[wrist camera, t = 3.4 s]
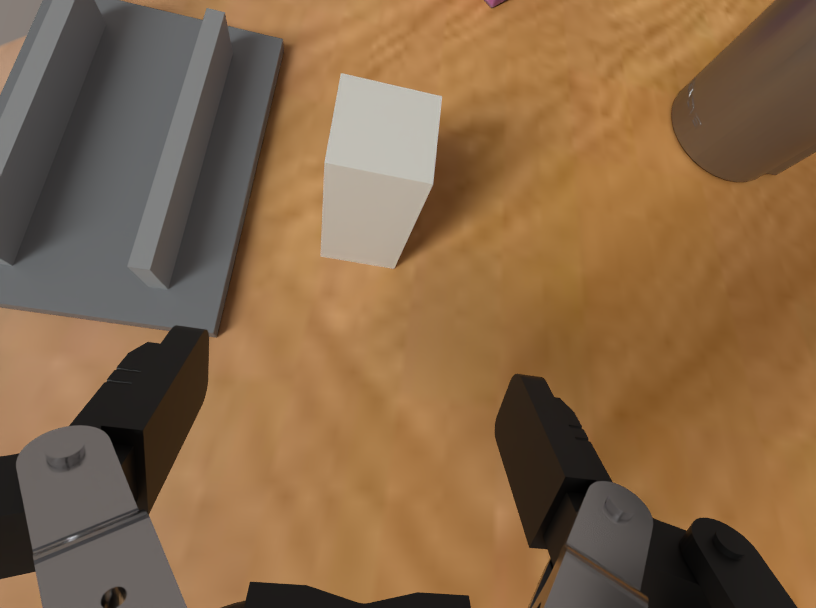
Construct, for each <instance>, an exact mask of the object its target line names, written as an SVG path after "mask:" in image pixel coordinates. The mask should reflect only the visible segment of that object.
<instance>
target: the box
mask: <svg viewBox="0 0 816 608" xmlns="http://www.w3.org/2000/svg"><path fill="white" fill-rule="evenodd" d="M484 1H485V2H486V3H487V4H488V5H489V6H490V7H491V8H493V7H494V6H496V5H498V4H500V3H502V2H504V1H506V0H484Z"/></svg>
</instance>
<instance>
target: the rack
mask: <svg viewBox="0 0 816 608" xmlns="http://www.w3.org/2000/svg"><path fill="white" fill-rule="evenodd" d="M283 52H284V47H283V39H281V38H276V37H272V36H268V35H264V34H259V33H255V32H251V31H247V30H242V29H238V28H234V27H230V26H227V21H226V16H225V12H221V11H217V10H213V9H208V8H207V9H206V12H205V15H204V19H203V20H200V19H196V18H192V17H187V16H183V15H179V14H175V13H171V12H166V11H162V10H158V9H154V8H149V7H145V6H141V5H137V4H132V3H128V2H124V1H120V0H43V1H42V4H41V6H40V8H39V10H38V12H37V15H36V17H35V20H34V21H33V23H32V26H31V28H30V30H29V33H28V35H27V37H26V39H25V41H24V43H23V46H22V48H21V50H20V52H19V55H18V57H17V59H16V61H15V63H14V66H13V68H12V70H11V72H10V75H9V77H8V79H7V81H6V84H5V86H4V88H3V90H2V92H1V95H0V307H1V308H8V309H16V310H23V311H30V312H37V313H44V314H52V315H59V316H66V317H73V318H80V319H87V320H95V321H102V322H109V323H116V324H123V325H130V326H138V327H145V328H152V329H159V330H166V331H170V330H171V329H172V328H173V326H175V325H178V326H185V327H192V328H199V329H206V330H208V333H209V337H217V334H218V330H219V326H220V322H221V317H222V313H223V309H224V304H225V300H226V296H227V292H228V287H229V283H230V279H231V275H232V270H233V266H234V262H235V257H236V253H237V249H238V245H239V240H240V236H241V232H242V228H243V223H244V219H245V215H246V210H247V206H248V202H249V198H250V193H251V189H252V185H253V180H254V176H255V172H256V168H257V163H258V159H259V155H260V151H261V146H262V142H263V138H264V133H265V129H266V125H267V121H268V116H269V112H270V108H271V103H272V99H273V95H274V91H275V86H276V82H277V78H278V74H279V69H280V65H281V61H282V56H283Z"/></svg>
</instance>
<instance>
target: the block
mask: <svg viewBox="0 0 816 608" xmlns="http://www.w3.org/2000/svg"><path fill="white" fill-rule="evenodd" d="M441 101H442V96H438V95H434V94H429V93H425V92H421V91H416V90H412V89H408V88H403V87H399V86H395V85H390V84H386V83H381V82H377V81H373V80H368V79H364V78H360V77H355V76H351V75H347V74H342V73H341V76H340V82H339V87H338V93H337V98H336V104H335V109H334V114H333V120H332V125H331V131H330V136H329V142H328V147H327V152H326V158H325V165H324V189H323V212H322V236H321V257H327V258H333V259H339V260H345V261H351V262H357V263H363V264H369V265H374V266H380V267H386V268H392V269H394V268H395V266H396V264H397V261H398V259H399V257H400V255H401V253H402V251H403V248H404V246H405V244H406V242H407V240H408V238H409V235H410V233H411V231H412V229H413V227H414V225H415V222H416V220H417V218H418V216H419V214H420V212H421V210H422V207H423V205H424V203H425V201H426V199H427V197H428V194H429V192H430V190H431V188H432V186H433V181H434V171H435V161H436V151H437V141H438V131H439V121H440V111H441Z"/></svg>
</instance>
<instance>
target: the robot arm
mask: <svg viewBox="0 0 816 608" xmlns="http://www.w3.org/2000/svg"><path fill="white" fill-rule="evenodd" d="M672 123H673V128H674V131H675V133H676V136H677V138H678V140H679V142H680V144H681V145H682V147H683V149H684V150H685V151H686V152H687V154H688V155H689V156H690V157H691V158H692V160H694V161H695V162H696V163H697V164H698V165H699V166H701V167H702V168H703V169H705V170H706V171H708V172H709V173H711V174H713V175H715V176H717V177H720V178H722V179H725V180H729V181H734V182H747V181H751V180H755V179H756V178H758V177H760V176H762V175H764V174H773V175H777V174H779V173H781V172H782V171H784V170H786V169H787V168H789V167H791V166H793V165H794V164H796V163H798V162H799V161H801V160H803V159H805V158H806V157H808V156H810V155H811V154H813V153H815V152H816V0H775V1H774V2H773V3H772V4H771V5H770V6H769V7H768V8H767V9H766V10H765V11H764V12H762V13H761V14H760V15H759V16H758V17H757V18H756V19H755V20H754V21H753V22H752V23H751V24H750V25H749V26H748V27H747V28H746V29H745V30H744V31H743V32H742V33H741V34H740V35H739V36H737V37H736V38H735V39H734V40H733V41H732V42H731V43H730V44H729V45H728V46H727V47H726V48H725V49H724V50H723V51H722V52H721V53H720V54H719V55H718V56H717V57H716V58H714V59H713V60H712V61H711V62H710V63H709V64H708V65H707V66H706V67H705V68H704V69H703V70H702V71H701V72H700V73H699V74H698V75H697V76H696V77H695V78H694V79H693V80H692V81H691V82H690V83H688V84H687V85H686V86H685V87H684V88H683V89H682V90H681V91H680V92H679V94H678V95H677V97H676V98H675V100H674V103H673V107H672ZM208 363H209V333H208V330H206V329H199V328H192V327H185V326H178V325H175V326H173V328H172V329H171V330H170V332H169V333H168V334H167V336H166V337H165V338H164V340H163V341H162V342H161V344H159V343H151V342H147V343H145V344H143V345H142V346H140V347H138V348H136V349H135V350H133V351H131V352H129V353H128V354H127V355H126V357H125V358H124V359H123V360H122V362H121V363H120V364H119V365H118V367H117V369H116V370H114V371H113V373H112V374H111V375H110V376H109V378H108V379H107V382H105V383H104V384H103V385H102V386H101V387H100V389H99V390H98V391H97V392H96V394H95V395H94V396H93V397H92V398H91V400H90V401H89V402H88V403H87V405H86V406H85V407H84V408H83V410H82V411H81V412H80V413H79V414H78V416H77V417H76V418H75V419H74V421H73V422H72V423H71V424H70V425H69V426H67V427H62V428H58V429H55V430H52V431H49V432H47V433H45V434H42V435H41V436H39V437H37V438H35V439H34V440H33V441H31V442H30V443H29V444H27V445H26V446H25V447H24V448H23V450H22V451H21V452H20V453H19V454H14V455H8V456H1V457H0V579H3V578H8V577H12V576H17V575H22V574H26V573H31V572H36V576H37V581H38V586H39V591H40V596H41V601H42V606H43V608H187V606H186V604H185V602H184V599H183V597H182V594H181V592H180V589H179V587H178V585H177V582H176V580H175V577H174V575H173V572H172V570H171V568H170V565H169V563H168V560H167V558H166V555H165V553H164V551H163V548H162V546H161V543H160V541H159V539H158V536H157V534H156V531H155V529H154V526H153V524H152V522H151V519H150V517H149V513H150V511H151V509H152V507H153V505H154V503H155V501H156V499H157V496H158V494H159V492H160V490H161V488H162V486H163V484H164V482H165V480H166V478H167V476H168V474H169V472H170V470H171V468H172V466H173V464H174V462H175V460H176V457H177V455H178V453H179V451H180V449H181V447H182V445H183V443H184V441H185V439H186V437H187V435H188V433H189V431H190V429H191V427H192V425H193V423H194V421H195V418H196V416H197V414H198V412H199V410H200V408H201V406H202V404H203V401H204V399H205V395H206V391H207V385H208ZM495 438H496V442H497V445H498V448H499V452H500V455H501V458H502V461H503V465H504V468H505V471H506V474H507V477H508V481H509V484H510V487H511V490H512V494H513V497H514V500H515V503H516V506H517V510H518V513H519V516H520V519H521V522H522V526H523V529H524V532H525V535H526V539H527V542H528V545H529V548H539V549H548V552H549V555H550V559H549V561H548V563H547V565H546V567H545V569H544V571H543V574H542V576H541V578H540V581H539V583H538V585H537V588H536V590H535V592H534V595H533V597H532V599H531V602H530V604H529V606H528V608H797V606H796V605H795V603H794V602H793V601H792V599H791V598H790V596H789V595H788V594H787V592H786V591H785V589H784V588H783V587H782V585H781V584H780V582H779V581H778V580H777V578H776V577H775V575H774V574H773V572H772V571H771V570H770V568H769V567H768V565H767V564H766V563H765V561H764V560H763V558H762V557H761V556H760V554H759V553H758V551H757V550H756V549H755V548H754V546H753V545H752V544H751V543H750V542H749V541H748V540H747V539H746V538H745V537H744V536H743V535H741V534H740V533H739V532H737V531H736V530H734V529H733V528H731V527H730V526H728V525H726V524H724V523H722V522H720V521H717V520H714V519H710V518H699V519H696V520H695V521H694V522H693V523H692V524H691V526H690V527H689V529H688V530H687V531H686V530H683V529H680V528H678V527H675V526H672V525H670V524H667V523H664V522H661V521H659V520H656V519H654V518H652V516H651V513H650V511H649V510H648V508H647V507H646V505H645V504H644V503H643V502H642V501H641V499H639V498H638V497H637V496H636V495H635V494H634V493H632V492H631V491H629V490H628V489H626V488H624V487H622V486H621V485H618V484H616V483H613V482H612V480H611V479H610V477H609V475H608V473H607V471H606V469H605V468H604V466H603V464H602V462H601V460H600V459H599V457H598V455H597V453H596V451H595V449H594V448H593V446H592V444H591V442H589V441H588V437H587V435H586V433H585V431H584V429H582V426H581V424H580V422H579V420H578V419H577V417H576V415H575V413H574V412H573V411H572V410H571V409H570V408H569V407H568V406H567V405H566V404H565V403H564V402H563V401H562V400H561V399H560V398H555V397H554V396H553V394H552V392H551V390H550V388H549V386H548V384H547V382H546V381H545V379H544V378H542V377H536V376H529V375H522V374H515V375H514V376H513V377H512V379H511V381H510V383H509V386H508V389H507V391H506V394H505V396H504V399H503V402H502V404H501V407H500V409H499V412H498V415H497V418H496V422H495ZM221 608H471V606H470V600H469V596H466V595H450V594H434V593H419V592H418V593H413V594H408V595H404V596H399V597H395V598H390V599H386V600H381V601H377V602H372V603H366V604H363V603H357V602H354V601H351V600H348V599H345V598H342V597H340V596H337V595H334V594H331V593H328V592H325V591H322V590H319V589H316V588H313V587H310V586H307V585H293V584H277V583H261V582H250V585H249V589H248V593H247V597H246V601H242V602H237V603H233V604H230V605H227V606H224V607H221Z"/></svg>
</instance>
